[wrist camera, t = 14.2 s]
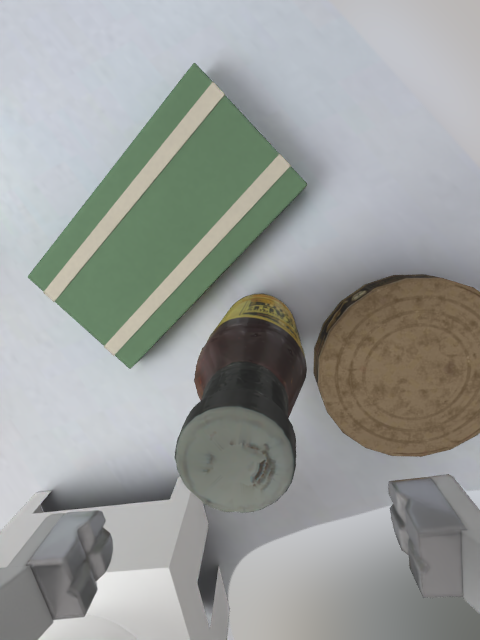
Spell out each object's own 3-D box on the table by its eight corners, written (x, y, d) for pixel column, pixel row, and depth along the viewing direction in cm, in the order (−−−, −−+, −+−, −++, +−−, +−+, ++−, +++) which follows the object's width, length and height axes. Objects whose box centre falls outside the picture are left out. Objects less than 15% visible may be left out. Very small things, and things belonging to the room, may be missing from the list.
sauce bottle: (307, 327, 29) (389, 490, 10) (256, 368, 31) (242, 583, 11) (260, 273, 28) (250, 340, 9) (209, 318, 30) (109, 458, 11)
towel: (199, 75, 25) (193, 61, 23) (304, 188, 27) (307, 183, 25) (42, 274, 30) (26, 277, 28) (138, 361, 31) (129, 369, 29)
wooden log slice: (324, 446, 32) (330, 466, 29) (301, 290, 29) (306, 296, 26) (494, 426, 30) (518, 445, 27) (492, 258, 27) (520, 260, 24)
